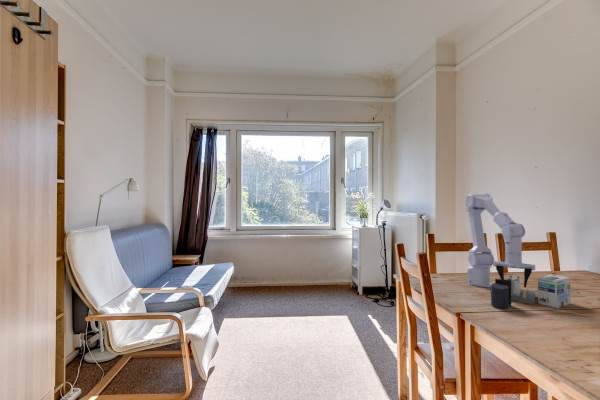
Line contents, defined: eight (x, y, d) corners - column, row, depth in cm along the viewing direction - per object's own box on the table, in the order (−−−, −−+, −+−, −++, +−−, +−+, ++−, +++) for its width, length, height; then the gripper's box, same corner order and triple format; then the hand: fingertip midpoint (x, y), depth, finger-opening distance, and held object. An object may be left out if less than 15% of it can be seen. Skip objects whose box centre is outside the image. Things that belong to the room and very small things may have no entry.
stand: (492, 299, 133) (492, 290, 133) (496, 292, 143) (496, 284, 143) (534, 305, 125) (534, 296, 125) (535, 297, 134) (535, 289, 134)
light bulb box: (557, 309, 120) (557, 280, 120) (537, 304, 126) (537, 277, 126) (571, 304, 125) (571, 277, 125) (551, 300, 131) (551, 273, 131)
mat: (501, 292, 142) (501, 291, 142) (503, 287, 150) (503, 286, 150) (547, 298, 133) (547, 297, 133) (547, 293, 140) (546, 292, 140)
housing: (508, 289, 138) (507, 274, 138) (521, 291, 135) (520, 276, 135) (506, 294, 132) (506, 278, 132) (520, 295, 129) (519, 280, 129)
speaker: (494, 301, 129) (495, 276, 128) (511, 305, 125) (511, 279, 124) (488, 307, 124) (488, 282, 123) (505, 312, 120) (506, 285, 119)
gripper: (492, 252, 135) (492, 284, 135) (534, 255, 126) (535, 290, 126) (494, 250, 141) (494, 281, 141) (535, 253, 132) (535, 286, 132)
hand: (513, 285), depth 134 cm, fingers open, 7 cm apart
